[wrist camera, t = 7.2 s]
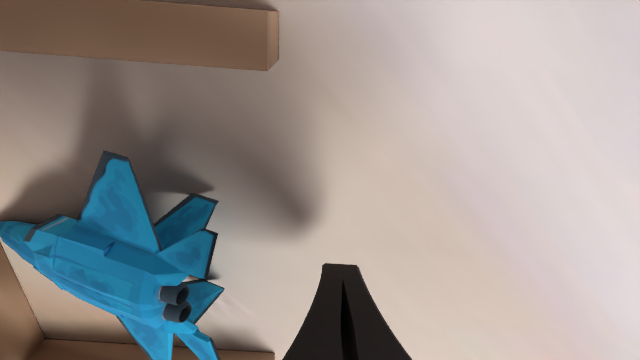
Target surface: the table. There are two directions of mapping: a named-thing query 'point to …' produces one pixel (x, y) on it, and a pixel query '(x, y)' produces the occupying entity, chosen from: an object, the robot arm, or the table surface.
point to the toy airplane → (130, 259)
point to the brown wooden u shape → (134, 45)
